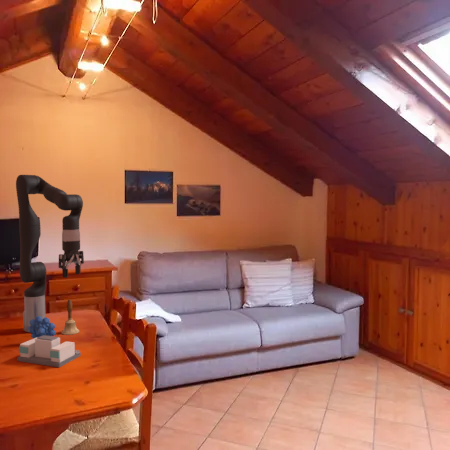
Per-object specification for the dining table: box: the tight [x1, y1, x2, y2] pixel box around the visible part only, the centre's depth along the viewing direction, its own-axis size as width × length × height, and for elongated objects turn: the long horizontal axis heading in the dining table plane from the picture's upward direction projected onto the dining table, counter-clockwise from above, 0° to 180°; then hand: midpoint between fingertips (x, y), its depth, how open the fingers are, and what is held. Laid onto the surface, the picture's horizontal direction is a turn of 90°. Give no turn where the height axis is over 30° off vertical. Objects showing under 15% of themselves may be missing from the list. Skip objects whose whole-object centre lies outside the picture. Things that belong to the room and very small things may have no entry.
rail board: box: [17, 337, 81, 368], centre depth 178 cm, size 20×13×6 cm, turn 72°
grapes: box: [28, 316, 57, 339], centre depth 196 cm, size 12×7×12 cm, turn 106°
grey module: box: [35, 335, 61, 359], centre depth 177 cm, size 8×5×7 cm, turn 72°
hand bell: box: [60, 299, 80, 336], centre depth 211 cm, size 8×8×16 cm
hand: (71, 275), depth 196 cm, fingers open, 8 cm apart
